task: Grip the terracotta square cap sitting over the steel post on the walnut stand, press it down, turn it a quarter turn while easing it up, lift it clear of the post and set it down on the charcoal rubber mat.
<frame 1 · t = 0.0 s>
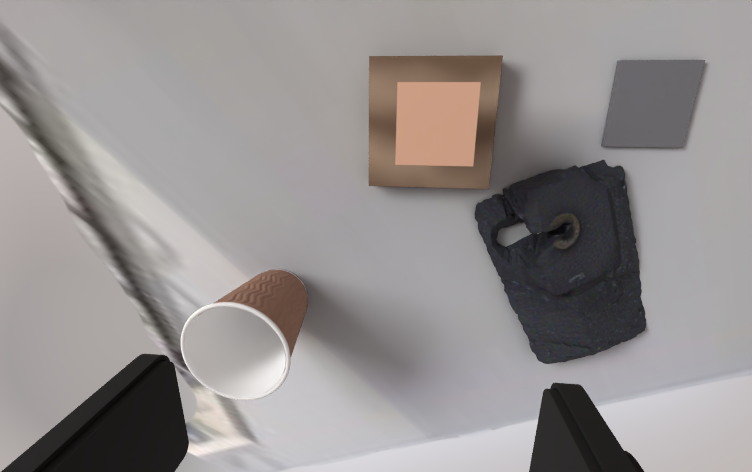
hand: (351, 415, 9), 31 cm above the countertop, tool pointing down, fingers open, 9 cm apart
coffee cup: (281, 294, 44), on the countertop
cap: (432, 125, 32), point 5 cm above the countertop, touching post stand
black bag: (561, 264, 40), on the countertop
mat: (649, 105, 34), on the countertop
post stand: (430, 125, 36), on the countertop
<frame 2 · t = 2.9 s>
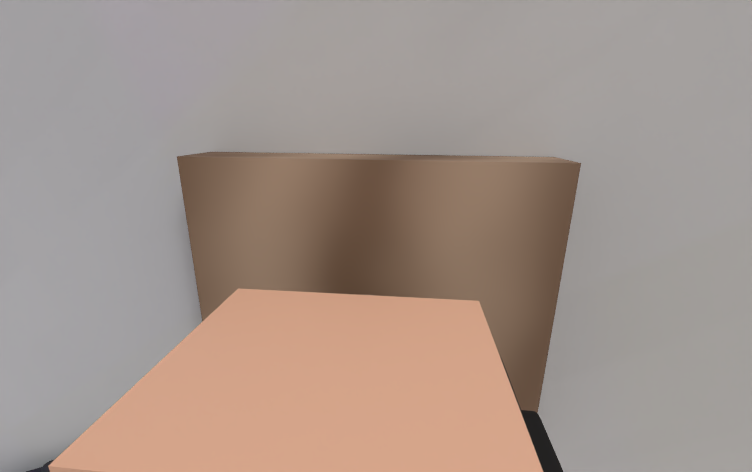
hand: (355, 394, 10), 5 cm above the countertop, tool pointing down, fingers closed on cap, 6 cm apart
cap: (355, 394, 10), point 5 cm above the countertop, touching gripper, post stand
post stand: (374, 308, 14), on the countertop
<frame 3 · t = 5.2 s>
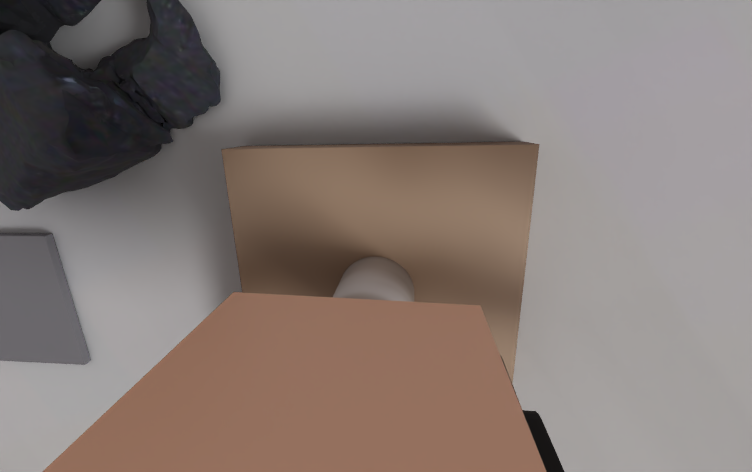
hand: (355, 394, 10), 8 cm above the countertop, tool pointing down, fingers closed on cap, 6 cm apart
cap: (353, 400, 10), point 8 cm above the countertop, touching gripper
mat: (13, 298, 20), on the countertop
post stand: (380, 272, 17), on the countertop
when the fingers open (2 cm above the countertop, at t = 12.2 s): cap drops 2 cm, resting on mat.
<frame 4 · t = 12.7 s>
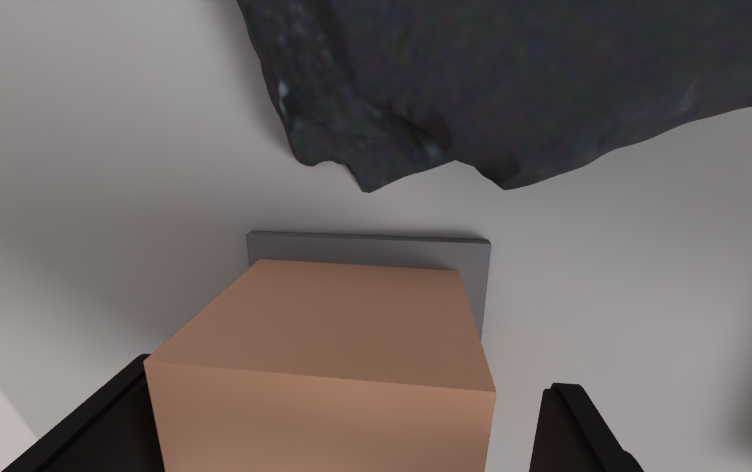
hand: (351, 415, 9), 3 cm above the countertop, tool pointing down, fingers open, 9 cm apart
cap: (356, 350, 12), resting on mat
mat: (366, 343, 12), on the countertop
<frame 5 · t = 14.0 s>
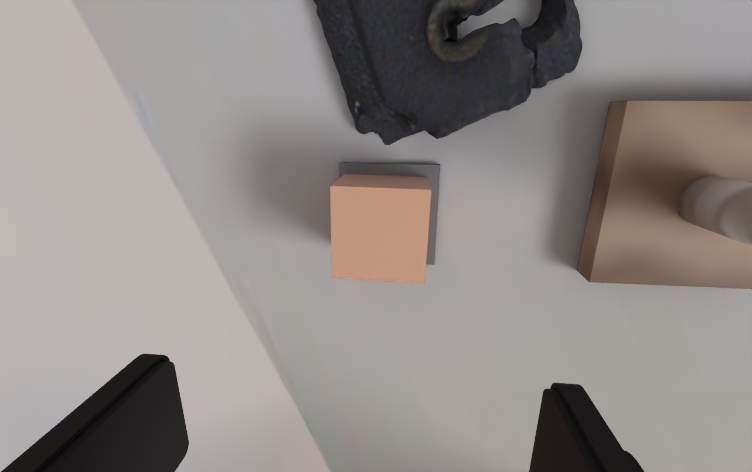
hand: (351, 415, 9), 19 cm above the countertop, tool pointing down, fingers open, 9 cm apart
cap: (384, 215, 27), resting on mat
mat: (388, 214, 27), on the countertop
post stand: (682, 194, 25), on the countertop
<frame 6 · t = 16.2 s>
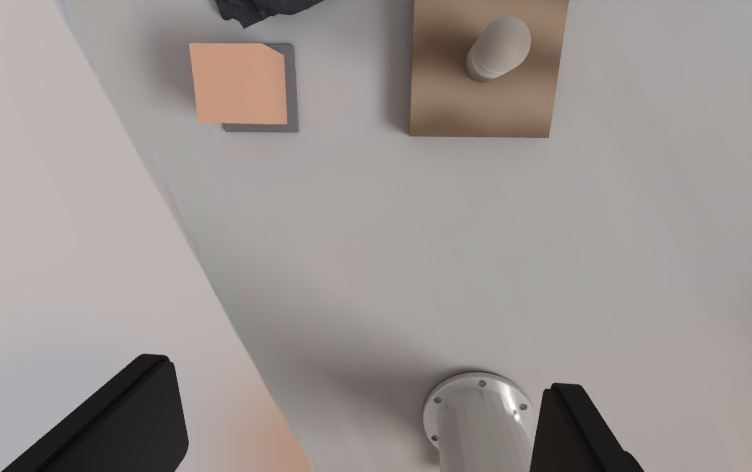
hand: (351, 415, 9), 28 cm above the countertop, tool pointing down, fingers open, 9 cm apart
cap: (254, 90, 34), resting on mat
mat: (259, 90, 34), on the countertop
post stand: (480, 65, 32), on the countertop
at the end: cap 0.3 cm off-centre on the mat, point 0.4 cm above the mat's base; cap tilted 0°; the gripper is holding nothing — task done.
